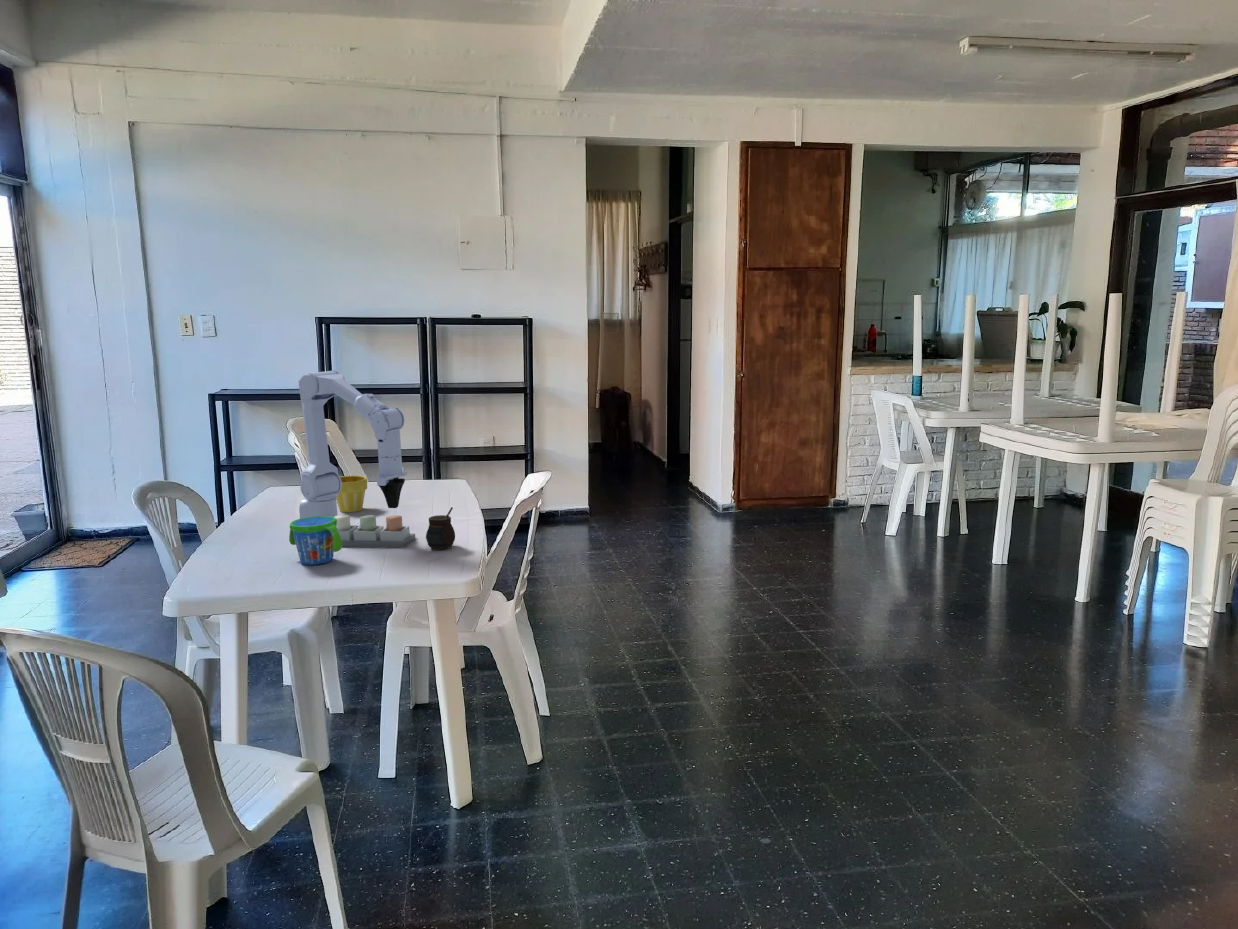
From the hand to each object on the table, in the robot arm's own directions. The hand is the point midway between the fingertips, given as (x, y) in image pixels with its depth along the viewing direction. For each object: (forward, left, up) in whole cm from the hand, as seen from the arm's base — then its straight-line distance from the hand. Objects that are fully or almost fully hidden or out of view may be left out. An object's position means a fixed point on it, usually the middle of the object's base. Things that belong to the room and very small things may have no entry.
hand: (393, 507), depth 216 cm
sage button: (-7, 0, -7) cm, 10 cm away
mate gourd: (+14, -4, -10) cm, 17 cm away
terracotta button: (0, 0, -7) cm, 7 cm away
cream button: (-14, 0, -7) cm, 15 cm away
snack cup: (-13, -17, -10) cm, 24 cm away
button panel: (-7, 0, -9) cm, 12 cm away
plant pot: (-26, +35, -10) cm, 45 cm away
